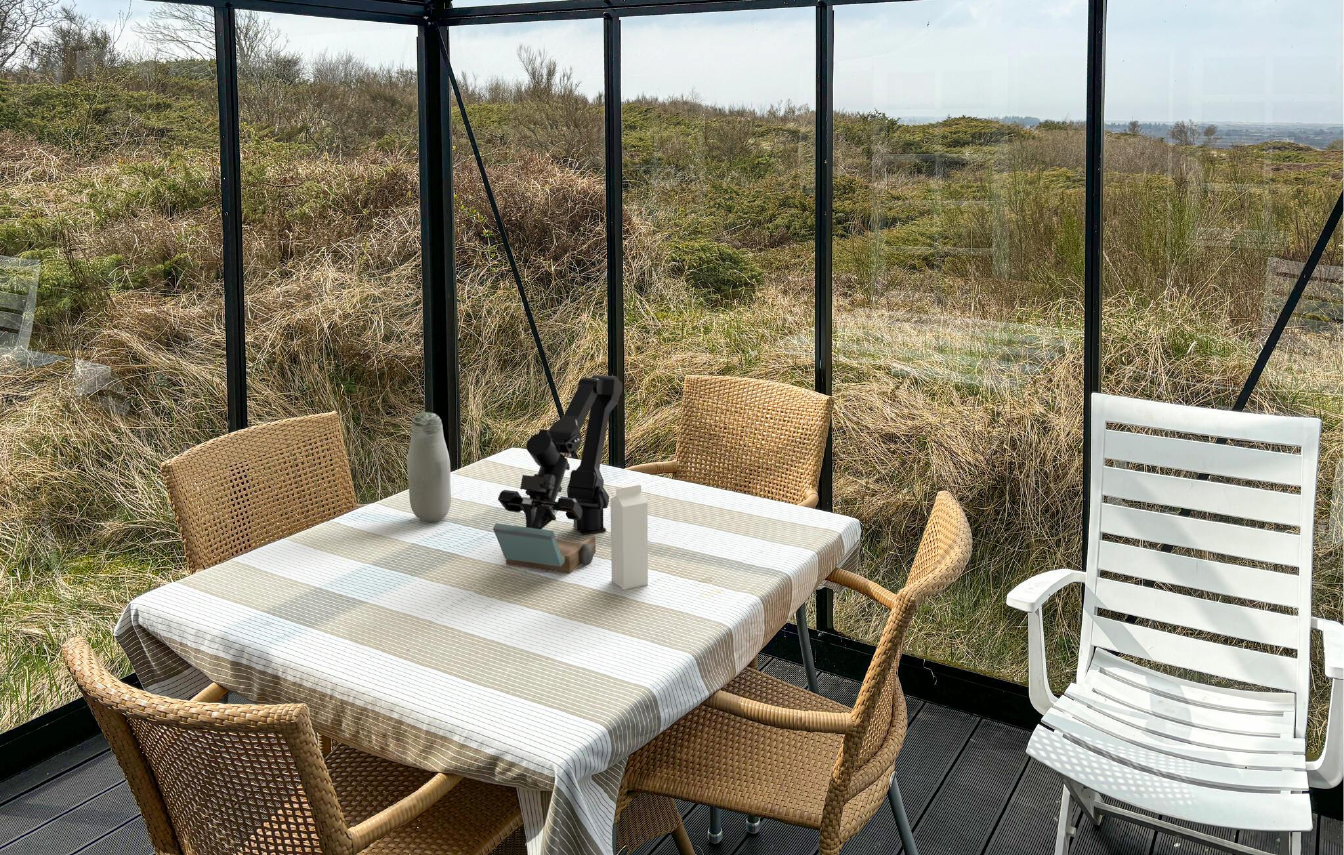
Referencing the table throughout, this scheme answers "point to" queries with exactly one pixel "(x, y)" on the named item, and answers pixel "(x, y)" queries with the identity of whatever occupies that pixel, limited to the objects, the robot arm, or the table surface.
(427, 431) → the grey bottle
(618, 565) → the milk
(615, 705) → the table surface
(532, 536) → the panel
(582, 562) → the trailer
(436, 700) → the table surface
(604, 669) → the table surface
